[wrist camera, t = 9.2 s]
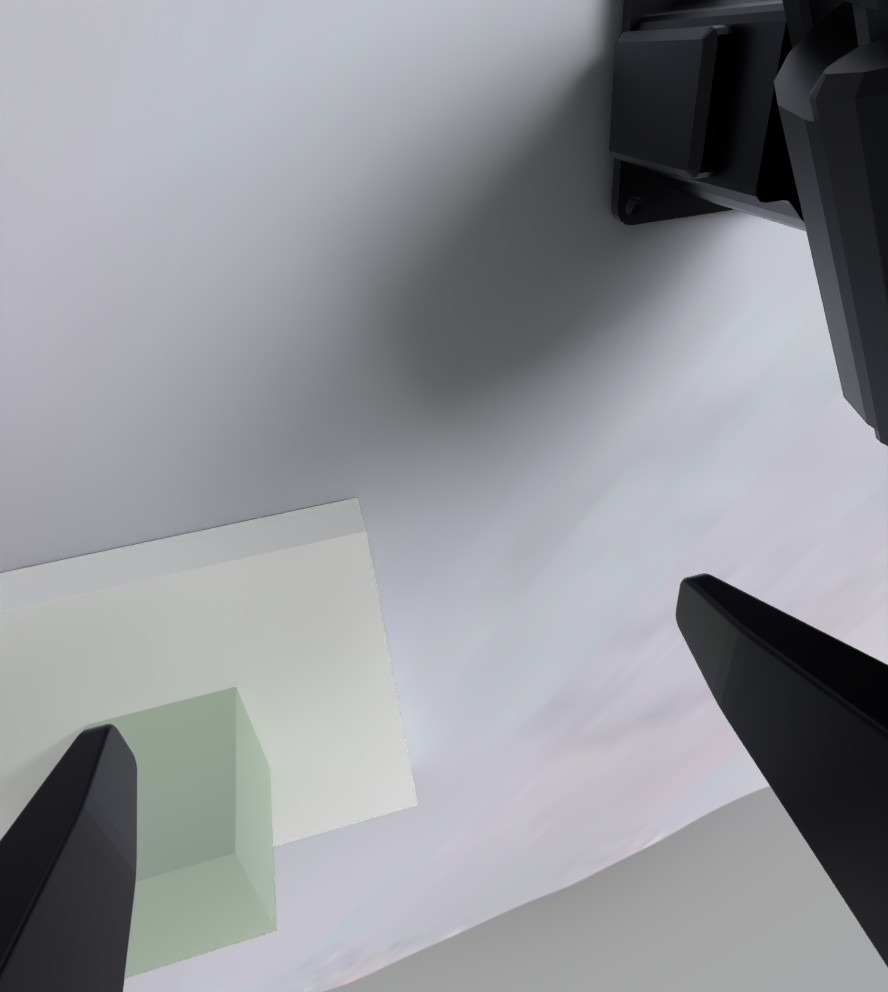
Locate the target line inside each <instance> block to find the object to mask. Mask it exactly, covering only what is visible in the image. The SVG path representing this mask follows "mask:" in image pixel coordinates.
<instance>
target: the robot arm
mask: <svg viewBox="0 0 888 992" xmlns="http://www.w3.org/2000/svg"><path fill="white" fill-rule="evenodd" d="M609 150H610V152H611V153H612V154H613V155H614V170H613V186H612V202H611V209H612V214H613V216H614V218H615V219H616V220H618V221H619V222H621V223H624V224H626V225H636V224H643V223H649V222H656V221H662V220H669V219H675V218H682V217H688V216H695V215H701V214H708V213H714V212H721V211H727V210H733V209H735V210H738V211H742V212H745V213H748V214H751V215H755V216H758V217H761V218H764V219H768V220H771V221H774V222H777V223H781V224H784V225H787V226H790V227H794V228H797V229H800V230H803V231H806V232H807V236H808V241H809V245H810V249H811V254H812V258H813V263H814V267H815V272H816V276H817V280H818V285H819V289H820V294H821V298H822V303H823V307H824V311H825V316H826V320H827V325H828V329H829V334H830V338H831V342H832V347H833V351H834V356H835V360H836V364H837V369H838V373H839V378H840V382H841V387H842V391H843V395H844V398H845V399H846V400H847V401H848V402H849V403H850V404H851V406H852V407H853V408H854V409H855V410H856V411H857V413H858V414H859V415H860V416H861V417H862V418H863V420H864V421H865V422H866V423H867V424H868V425H870V426H871V427H873V428H874V430H875V435H876V438H877V439H878V440H879V441H880V442H881V443H883V444H885V445H887V446H888V0H624V9H623V25H622V35H621V37H620V38H619V40H618V41H617V43H616V45H615V56H614V74H613V91H612V108H611V126H610V143H609ZM633 197H634V198H635V205H634V208H633V209H632V211H631V212H629V213H626V209H625V207H626V204H627V202H628V201H629V200H630V199H631V198H633ZM676 621H677V624H678V627H679V629H680V631H681V633H682V635H683V637H684V639H685V641H686V643H687V645H688V647H689V649H690V651H691V653H692V655H693V657H694V659H695V661H696V663H697V665H698V667H699V668H700V670H701V672H702V674H703V676H704V678H705V680H706V682H707V684H708V686H709V688H710V690H711V692H712V694H713V696H714V698H715V700H716V702H717V703H718V705H719V707H720V709H721V710H722V712H723V714H724V715H725V717H726V718H727V720H728V722H729V723H730V725H731V726H732V728H733V729H734V731H735V732H736V734H737V736H738V737H739V739H740V740H741V742H742V743H743V745H744V746H745V748H746V749H747V751H748V752H749V754H750V756H751V757H752V759H753V760H754V762H755V763H756V765H757V766H758V768H759V769H760V771H761V773H762V774H763V776H764V777H765V779H766V780H767V782H768V783H769V785H770V786H771V788H772V789H773V791H774V793H775V794H776V796H777V797H778V799H779V800H780V802H781V803H782V805H783V806H784V808H785V810H786V811H787V813H788V814H789V816H790V817H791V819H792V820H793V822H794V823H795V825H796V826H797V828H798V830H799V831H800V833H801V834H802V836H803V837H804V839H805V840H806V842H807V843H808V845H809V846H810V848H811V850H812V851H813V853H814V854H815V856H816V857H817V859H818V860H819V862H820V863H821V865H822V867H823V868H824V870H825V871H826V873H827V874H828V876H829V877H830V879H831V880H832V882H833V884H834V885H835V887H836V888H837V890H838V891H839V893H840V894H841V896H842V897H843V898H844V900H845V902H846V904H847V905H848V907H849V908H850V910H851V911H852V913H853V914H854V916H855V917H856V919H857V920H858V922H859V924H860V925H861V927H862V928H863V930H864V931H865V933H866V934H867V936H868V938H869V939H870V940H871V942H872V943H873V945H874V947H875V948H876V950H877V951H878V953H879V954H880V956H881V957H882V959H883V960H884V962H885V964H886V965H887V967H888V665H887V664H885V663H883V662H881V661H879V660H877V659H875V658H873V657H871V656H869V655H867V654H865V653H863V652H862V651H860V650H858V649H856V648H854V647H852V646H850V645H848V644H846V643H844V642H842V641H840V640H838V639H836V638H834V637H832V636H830V635H828V634H826V633H824V632H822V631H820V630H818V629H816V628H814V627H812V626H810V625H808V624H806V623H804V622H802V621H801V620H799V619H797V618H795V617H793V616H791V615H789V614H787V613H785V612H783V611H781V610H779V609H777V608H775V607H773V606H771V605H769V604H767V603H765V602H763V601H761V600H759V599H757V598H755V597H753V596H751V595H749V594H747V593H745V592H743V591H741V590H740V589H738V588H736V587H734V586H732V585H730V584H728V583H726V582H724V581H722V580H720V579H718V578H716V577H714V576H712V575H709V574H699V575H695V576H691V577H687V578H684V579H683V580H682V582H681V584H680V589H679V595H678V601H677V607H676ZM136 870H137V763H136V759H135V756H134V754H133V752H132V751H131V749H130V748H129V746H128V744H127V743H126V741H125V740H124V738H123V737H122V735H121V733H120V732H119V730H118V729H117V728H116V726H114V725H113V724H105V725H101V726H97V727H93V728H89V729H86V730H84V731H82V732H81V733H80V734H79V735H78V736H77V737H76V739H75V740H74V741H73V743H72V744H71V745H70V747H69V748H68V749H67V751H66V752H65V753H64V755H63V756H62V758H61V759H60V760H59V762H58V763H57V764H56V766H55V767H54V768H53V770H52V771H51V772H50V774H49V775H48V776H47V778H46V779H45V781H44V782H43V783H42V785H41V786H40V787H39V789H38V790H37V791H36V793H35V794H34V795H33V797H32V798H31V800H30V801H29V802H28V804H27V805H26V806H25V808H24V809H23V810H22V812H21V813H20V814H19V816H18V817H17V819H16V820H15V821H14V823H13V824H12V825H11V827H10V828H9V829H8V831H7V832H6V833H5V835H4V836H3V837H2V839H1V840H0V992H123V986H124V977H125V969H126V961H127V952H128V944H129V936H130V927H131V919H132V910H133V902H134V894H135V884H136Z"/></svg>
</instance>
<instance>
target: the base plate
mask: <svg viewBox="0 0 888 992" xmlns="http://www.w3.org/2000/svg"><path fill="white" fill-rule="evenodd" d="M232 687H237V689H238V692H239V694H240V697H241V699H242V701H243V704H244V706H245V709H246V711H247V713H248V716H249V718H250V721H251V723H252V726H253V728H254V730H255V733H256V735H257V738H258V740H259V743H260V745H261V747H262V750H263V752H264V755H265V757H266V760H267V762H268V764H269V767H270V780H271V803H272V827H273V847H276V846H279V845H283V844H286V843H290V842H293V841H296V840H300V839H303V838H307V837H310V836H313V835H317V834H320V833H324V832H327V831H331V830H334V829H337V828H341V827H344V826H348V825H351V824H354V823H358V822H361V821H365V820H368V819H371V818H375V817H378V816H382V815H385V814H388V813H392V812H395V811H399V810H402V809H405V808H409V807H412V806H416V805H418V801H417V796H416V791H415V785H414V780H413V775H412V770H411V764H410V759H409V754H408V748H407V743H406V738H405V733H404V727H403V722H402V717H401V711H400V706H399V701H398V696H397V690H396V685H395V680H394V674H393V669H392V664H391V659H390V653H389V648H388V643H387V637H386V632H385V627H384V622H383V616H382V611H381V606H380V600H379V595H378V590H377V585H376V579H375V574H374V569H373V563H372V558H371V553H370V548H369V542H368V537H367V532H366V528H365V524H364V520H363V517H362V513H361V509H360V505H359V502H358V498H352V499H347V500H343V501H338V502H333V503H329V504H324V505H319V506H314V507H310V508H305V509H300V510H295V511H291V512H286V513H281V514H277V515H272V516H267V517H262V518H258V519H253V520H248V521H244V522H239V523H234V524H229V525H225V526H220V527H215V528H211V529H206V530H201V531H196V532H192V533H187V534H182V535H178V536H173V537H168V538H163V539H159V540H154V541H149V542H144V543H140V544H135V545H130V546H126V547H121V548H116V549H111V550H107V551H102V552H97V553H93V554H88V555H83V556H78V557H74V558H69V559H64V560H60V561H55V562H50V563H45V564H41V565H36V566H31V567H27V568H22V569H17V570H12V571H8V572H3V573H0V840H1V839H2V837H3V836H4V835H5V833H6V832H7V831H8V829H9V828H10V827H11V825H12V824H13V823H14V821H15V820H16V819H17V817H18V816H19V814H20V813H21V812H22V810H23V809H24V808H25V806H26V805H27V804H28V802H29V801H30V800H31V798H32V797H33V795H34V794H35V793H36V791H37V790H38V789H39V787H40V786H41V785H42V783H43V782H44V781H45V779H46V778H47V776H48V775H49V774H50V772H51V771H52V770H53V768H54V767H55V766H56V764H57V763H58V762H59V760H60V759H61V758H62V756H63V755H64V753H65V752H66V751H67V749H68V748H69V747H70V745H71V744H72V743H73V741H74V740H75V739H76V737H77V736H78V735H79V734H80V733H81V732H82V731H84V730H86V729H87V724H91V723H95V722H99V721H103V720H107V719H110V718H114V717H118V716H122V715H126V714H130V713H134V712H138V711H142V710H146V709H150V708H154V707H158V706H161V705H165V704H169V703H173V702H177V701H181V700H185V699H189V698H193V697H197V696H201V695H205V694H209V693H212V692H216V691H220V690H224V689H228V688H232Z"/></svg>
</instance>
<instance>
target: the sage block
mask: <svg viewBox="0 0 888 992" xmlns="http://www.w3.org/2000/svg"><path fill="white" fill-rule="evenodd" d="M105 724H113V725H114V726H116V728H117V729H118V730H119V732H120V733H121V735H122V737H123V738H124V740H125V741H126V743H127V744H128V746H129V748H130V749H131V751H132V752H133V754H134V756H135V759H136V763H137V870H136V884H135V894H134V902H133V910H132V919H131V927H130V936H129V944H128V952H127V961H126V969H125V977H124V979H125V978H128V977H131V976H134V975H137V974H140V973H144V972H147V971H150V970H153V969H156V968H159V967H163V966H166V965H169V964H172V963H175V962H178V961H182V960H185V959H188V958H191V957H194V956H197V955H201V954H204V953H207V952H210V951H213V950H216V949H219V948H223V947H226V946H229V945H232V944H235V943H238V942H242V941H245V940H248V939H251V938H254V937H257V936H261V935H264V934H267V933H270V932H273V931H276V930H277V921H276V897H275V874H274V850H273V827H272V803H271V780H270V767H269V764H268V762H267V760H266V757H265V755H264V752H263V750H262V747H261V745H260V743H259V740H258V738H257V735H256V733H255V730H254V728H253V726H252V723H251V721H250V718H249V716H248V713H247V711H246V709H245V706H244V704H243V701H242V699H241V697H240V694H239V692H238V689H237V687H232V688H228V689H224V690H220V691H216V692H212V693H209V694H205V695H201V696H197V697H193V698H189V699H185V700H181V701H177V702H173V703H169V704H165V705H161V706H158V707H154V708H150V709H146V710H142V711H138V712H134V713H130V714H126V715H122V716H118V717H114V718H110V719H107V720H103V721H99V722H95V723H91V724H87V729H89V728H93V727H97V726H101V725H105Z"/></svg>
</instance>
